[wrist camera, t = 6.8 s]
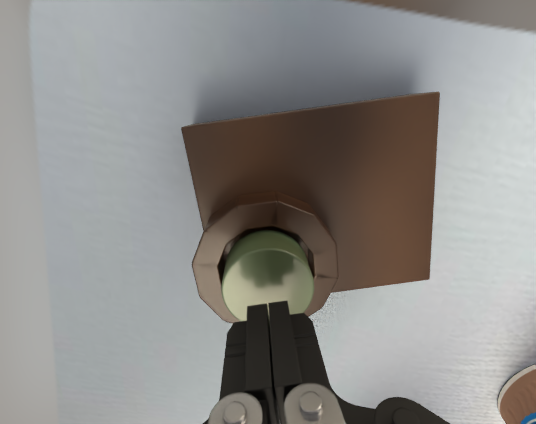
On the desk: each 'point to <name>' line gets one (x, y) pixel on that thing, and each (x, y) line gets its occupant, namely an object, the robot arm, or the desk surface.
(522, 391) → the coffee cup
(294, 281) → the green short cylinder
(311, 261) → the button housing
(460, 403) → the desk surface
